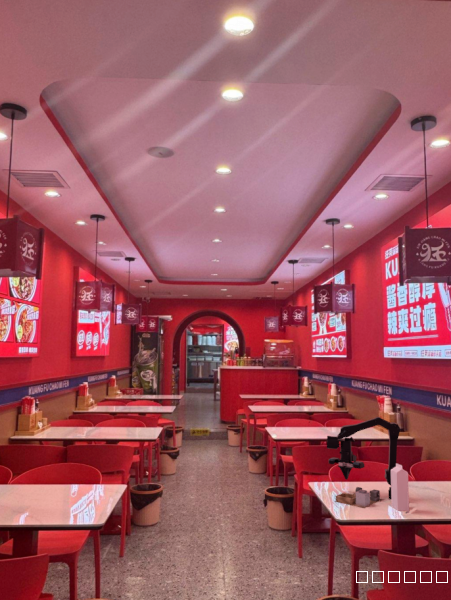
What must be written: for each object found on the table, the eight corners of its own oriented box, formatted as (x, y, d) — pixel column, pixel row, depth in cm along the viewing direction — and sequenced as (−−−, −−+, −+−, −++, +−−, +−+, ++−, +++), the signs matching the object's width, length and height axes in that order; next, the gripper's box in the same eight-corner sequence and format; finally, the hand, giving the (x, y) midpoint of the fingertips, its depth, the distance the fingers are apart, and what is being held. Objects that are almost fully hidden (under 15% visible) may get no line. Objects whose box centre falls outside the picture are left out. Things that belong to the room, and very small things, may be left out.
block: (369, 504, 235) (369, 490, 236) (365, 506, 231) (365, 492, 232) (360, 502, 238) (360, 488, 239) (355, 504, 234) (355, 490, 235)
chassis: (382, 501, 245) (382, 490, 246) (364, 510, 229) (364, 498, 230) (354, 495, 256) (354, 484, 256) (334, 504, 239) (334, 492, 240)
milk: (402, 509, 233) (401, 463, 236) (409, 513, 227) (408, 465, 230) (391, 509, 232) (390, 463, 235) (397, 513, 226) (396, 465, 229)
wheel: (368, 496, 249) (368, 488, 249) (364, 498, 245) (364, 489, 246) (358, 494, 252) (358, 486, 253) (354, 496, 249) (354, 487, 250)
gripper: (368, 450, 258) (369, 479, 255) (337, 445, 270) (337, 474, 268) (359, 452, 249) (360, 483, 247) (327, 448, 261) (328, 477, 259)
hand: (346, 479), depth 255 cm, fingers closed
